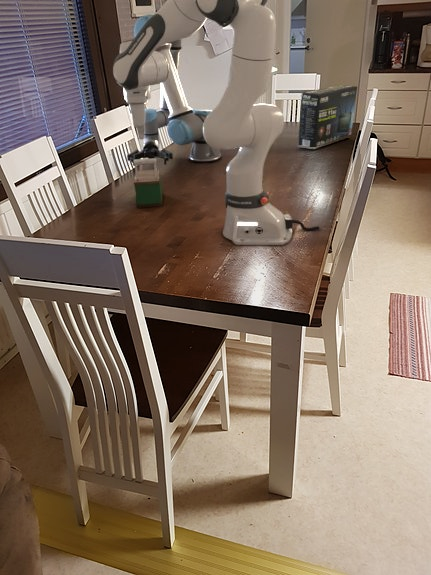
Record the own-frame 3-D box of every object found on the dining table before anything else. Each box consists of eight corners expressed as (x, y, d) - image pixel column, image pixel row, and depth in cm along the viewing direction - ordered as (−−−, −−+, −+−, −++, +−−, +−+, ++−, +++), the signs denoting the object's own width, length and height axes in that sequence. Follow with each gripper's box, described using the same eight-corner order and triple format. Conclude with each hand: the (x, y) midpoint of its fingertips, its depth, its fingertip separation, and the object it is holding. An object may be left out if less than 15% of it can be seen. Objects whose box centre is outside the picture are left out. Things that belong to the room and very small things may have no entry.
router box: (314, 151, 231) (318, 94, 217) (296, 148, 237) (299, 92, 224) (352, 138, 251) (358, 85, 238) (335, 135, 258) (340, 83, 245)
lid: (159, 183, 168) (157, 160, 164) (134, 185, 168) (131, 162, 163) (160, 171, 180) (157, 150, 176) (136, 173, 180) (133, 151, 176)
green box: (161, 206, 173) (159, 183, 169) (137, 207, 173) (134, 184, 168) (162, 193, 185) (160, 171, 180) (139, 195, 185) (136, 173, 180)
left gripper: (177, 155, 220) (178, 169, 202) (125, 157, 218) (121, 171, 200) (176, 139, 216) (177, 152, 198) (123, 141, 214) (119, 154, 196)
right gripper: (129, 90, 164) (134, 130, 171) (126, 99, 146) (131, 143, 153) (147, 89, 164) (151, 128, 171) (146, 97, 147) (150, 141, 154)
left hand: (149, 162), depth 199 cm, fingers open, 13 cm apart
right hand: (142, 135), depth 162 cm, fingers open, 8 cm apart
